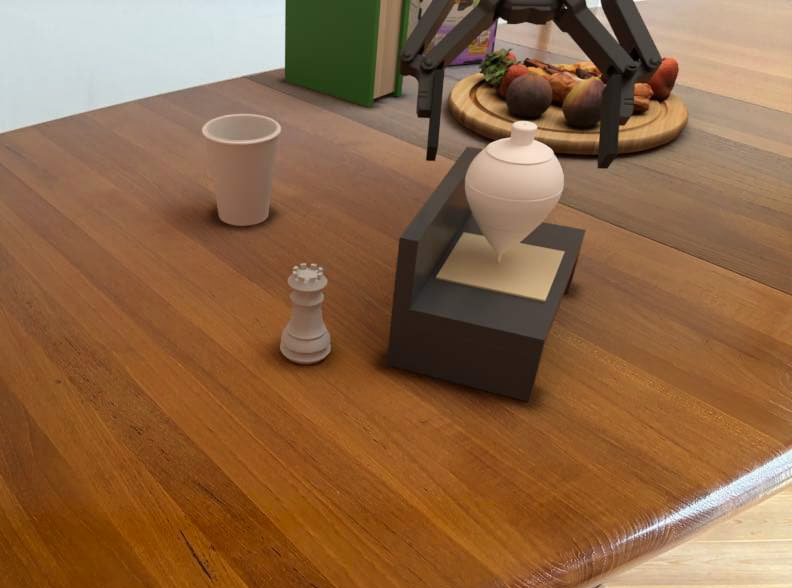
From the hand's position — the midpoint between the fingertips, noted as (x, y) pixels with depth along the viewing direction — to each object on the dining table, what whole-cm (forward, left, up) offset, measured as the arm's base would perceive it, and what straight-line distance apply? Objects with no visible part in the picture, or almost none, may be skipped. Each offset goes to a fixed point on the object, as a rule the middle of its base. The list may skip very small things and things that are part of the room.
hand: (518, 158), depth 66 cm
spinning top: (0, +1, -9) cm, 9 cm away
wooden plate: (+3, -57, -15) cm, 59 cm away
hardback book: (+36, -56, -15) cm, 69 cm away
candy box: (+25, -76, -15) cm, 82 cm away
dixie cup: (+30, -10, -15) cm, 35 cm away
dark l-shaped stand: (0, +1, -15) cm, 15 cm away
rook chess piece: (+13, +12, -15) cm, 23 cm away
